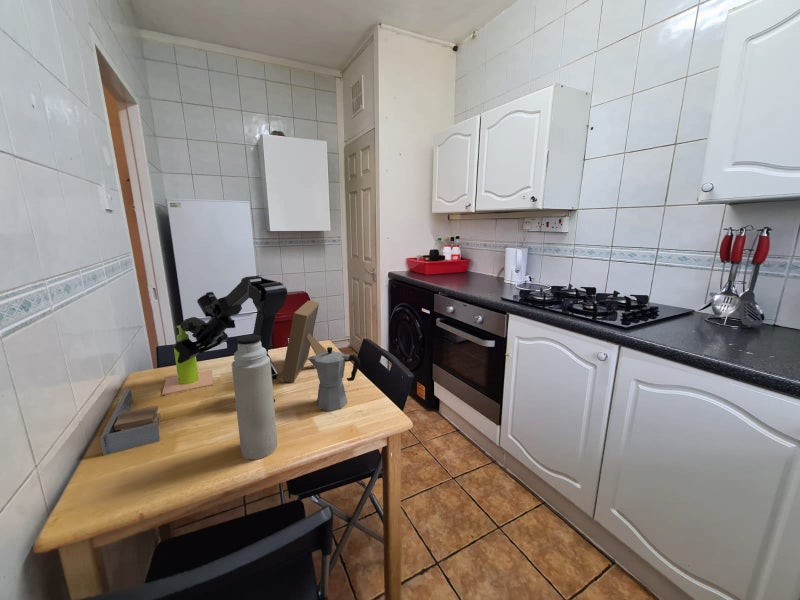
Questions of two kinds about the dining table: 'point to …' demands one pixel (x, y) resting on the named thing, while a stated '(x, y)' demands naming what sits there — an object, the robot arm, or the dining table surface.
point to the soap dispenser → (186, 363)
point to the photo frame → (301, 341)
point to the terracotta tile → (174, 386)
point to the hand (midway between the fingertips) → (189, 357)
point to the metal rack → (126, 438)
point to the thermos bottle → (254, 398)
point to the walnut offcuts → (137, 418)
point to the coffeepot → (332, 378)
